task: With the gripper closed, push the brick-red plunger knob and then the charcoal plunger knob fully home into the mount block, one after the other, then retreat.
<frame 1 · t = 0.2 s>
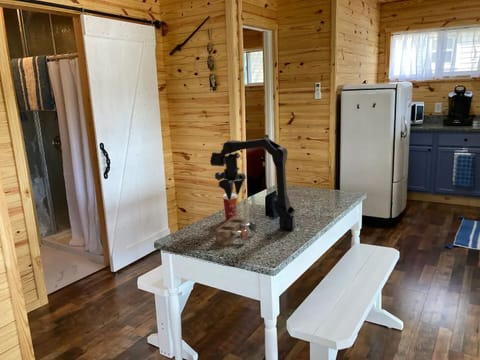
hand: (233, 196, 199), 14 cm above the table, fingers open, 9 cm apart
mount: (231, 236, 185), on the table
charcoal knob: (247, 226, 186), point 4 cm above the table, slide at 0.0 cm
paper cup: (231, 220, 208), on the table
brick knob: (238, 233, 178), point 4 cm above the table, slide at 0.0 cm
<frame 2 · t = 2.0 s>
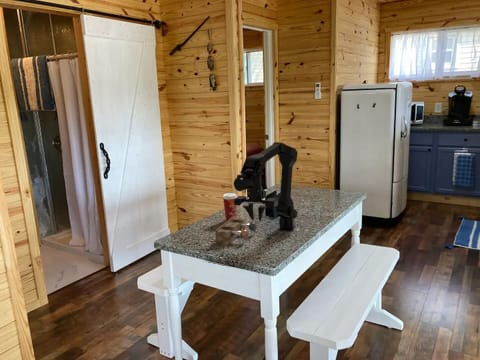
hand: (256, 220, 172), 11 cm above the table, fingers open, 3 cm apart
nothing on the table moved.
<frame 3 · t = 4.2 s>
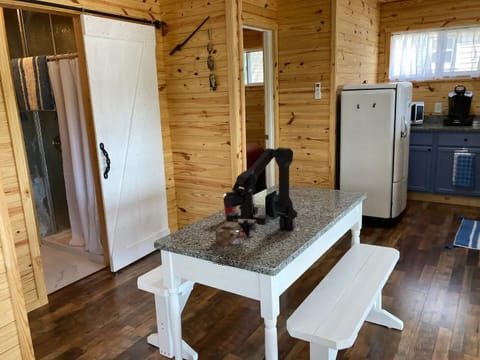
hand: (248, 236, 176), 3 cm above the table, fingers closed
brick knob: (236, 233, 178), point 4 cm above the table, slide at 1.1 cm, touching gripper
everything else where it was.
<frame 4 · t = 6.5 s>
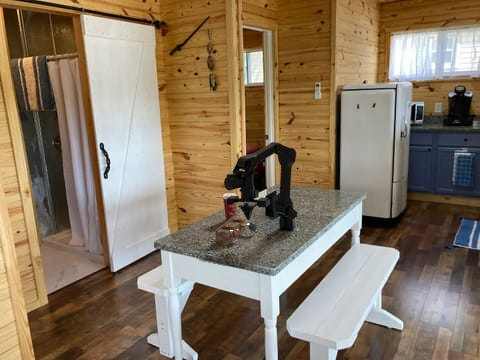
hand: (248, 219, 174), 11 cm above the table, fingers closed
brick knob: (230, 232, 179), point 4 cm above the table, slide at 4.0 cm, touching mount
everything else where it was.
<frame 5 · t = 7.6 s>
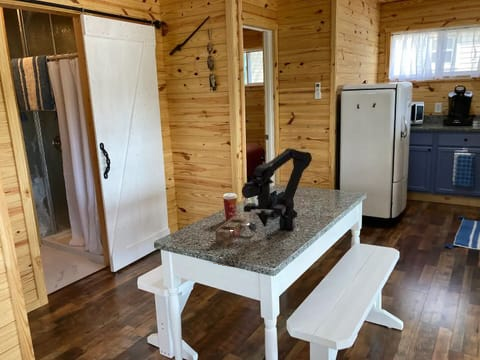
hand: (265, 226, 183), 5 cm above the table, fingers closed
nothing on the table moved.
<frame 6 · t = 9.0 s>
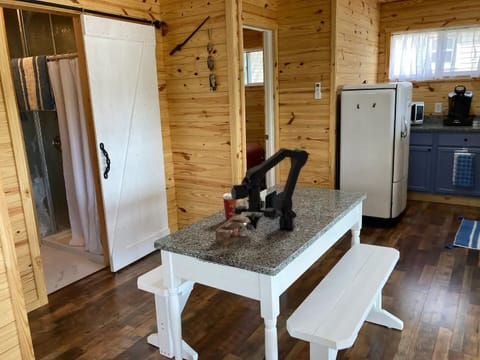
hand: (255, 228, 185), 3 cm above the table, fingers closed
charcoal knob: (244, 225, 187), point 4 cm above the table, slide at 1.5 cm, touching gripper
everything else where it was.
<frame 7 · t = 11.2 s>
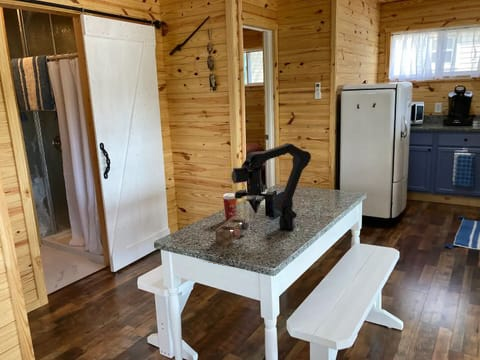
hand: (256, 213, 183), 11 cm above the table, fingers closed
charcoal knob: (239, 225, 188), point 4 cm above the table, slide at 4.0 cm, touching mount
everything else where it was.
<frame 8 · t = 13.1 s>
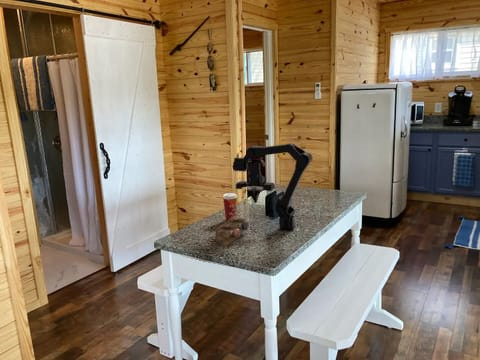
hand: (255, 202, 195), 12 cm above the table, fingers closed
nothing on the table moved.
at the end: brick knob slide at 4.0 cm; charcoal knob slide at 4.0 cm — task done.
